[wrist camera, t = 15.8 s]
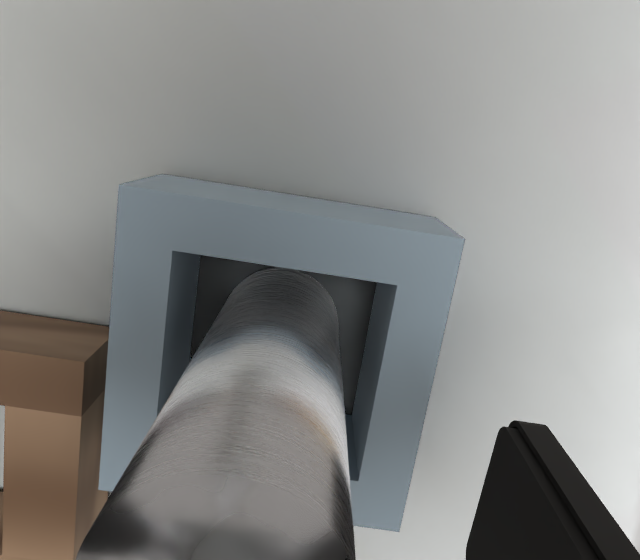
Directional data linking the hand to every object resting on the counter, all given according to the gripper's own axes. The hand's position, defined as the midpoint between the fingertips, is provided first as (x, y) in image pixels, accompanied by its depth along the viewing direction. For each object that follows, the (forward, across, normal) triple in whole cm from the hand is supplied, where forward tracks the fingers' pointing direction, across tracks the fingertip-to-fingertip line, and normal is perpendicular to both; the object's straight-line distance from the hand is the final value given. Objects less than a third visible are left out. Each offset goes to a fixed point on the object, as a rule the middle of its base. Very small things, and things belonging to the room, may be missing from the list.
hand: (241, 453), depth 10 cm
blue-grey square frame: (+9, 0, +1) cm, 9 cm away
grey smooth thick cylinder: (+9, 0, +1) cm, 9 cm away
